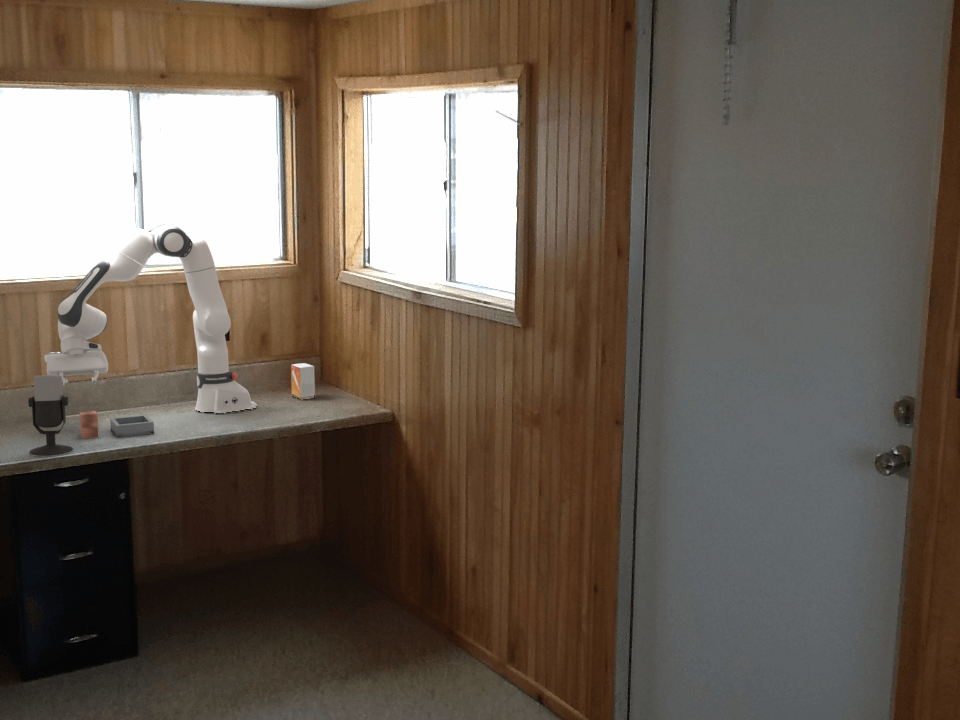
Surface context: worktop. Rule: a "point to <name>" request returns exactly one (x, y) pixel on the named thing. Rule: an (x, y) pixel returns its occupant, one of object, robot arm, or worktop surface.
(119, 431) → the bin
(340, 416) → the worktop surface
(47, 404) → the microphone
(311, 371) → the small box
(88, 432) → the red block
